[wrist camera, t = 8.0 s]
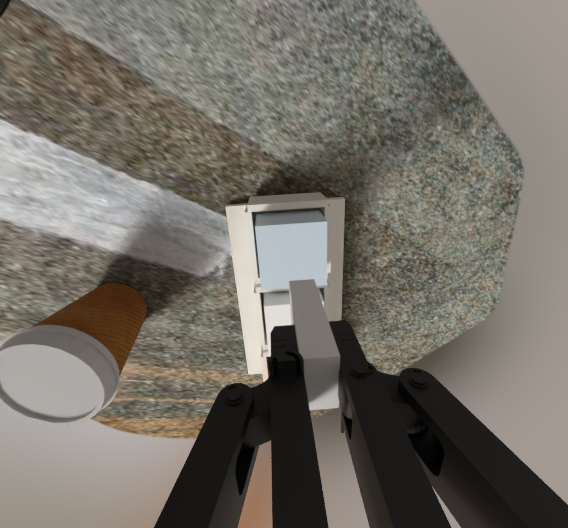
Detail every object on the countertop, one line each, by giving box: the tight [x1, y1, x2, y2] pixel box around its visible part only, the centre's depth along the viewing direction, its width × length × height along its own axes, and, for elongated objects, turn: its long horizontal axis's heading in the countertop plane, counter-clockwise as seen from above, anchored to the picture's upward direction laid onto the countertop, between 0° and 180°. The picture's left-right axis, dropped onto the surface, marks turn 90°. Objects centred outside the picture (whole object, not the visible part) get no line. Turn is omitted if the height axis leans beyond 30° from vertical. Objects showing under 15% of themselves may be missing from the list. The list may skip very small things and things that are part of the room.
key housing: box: [225, 192, 345, 382], centre depth 32 cm, size 24×12×5 cm, turn 3°
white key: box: [264, 288, 324, 354], centre depth 29 cm, size 6×6×4 cm
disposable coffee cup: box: [0, 283, 147, 426], centre depth 28 cm, size 10×10×12 cm
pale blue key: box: [255, 210, 327, 290], centre depth 25 cm, size 6×6×4 cm
